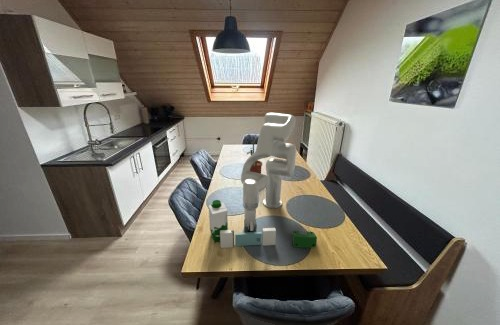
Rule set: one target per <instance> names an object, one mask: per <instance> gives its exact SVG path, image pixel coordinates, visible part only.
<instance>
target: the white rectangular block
mask: <svg viewBox="0 0 500 325" xmlns="http://www.w3.org/2000/svg"><path fill="white" fill-rule="evenodd" d="M261 232H262V240H261V245H262V247H263V246H275V245H276V234H277V230H276V227H267V228H266V227H265V228H264V227H263V228H262V231H261ZM219 242H220V244H219V245H220V248H221V249H222V248H223V249H225V248H233V247H235V230H234V229H228V230H221V231H220V241H219Z"/></svg>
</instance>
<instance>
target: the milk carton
mask: <svg viewBox="0 0 500 325" xmlns="http://www.w3.org/2000/svg"><path fill="white" fill-rule="evenodd" d="M208 218H209V219H208V220H209V230H210V235H211V238H212V240H213V243H214V244H215V243H218V242H220V231H221V230H229V227H228V225H229V224H228V208H227V207H226V205H225V203H224V202H223V201H222V202H221V201H220V199H219V200H218V199H215V200H213V201H212V203H211V204H209V205H208Z"/></svg>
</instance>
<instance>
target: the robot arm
mask: <svg viewBox="0 0 500 325" xmlns="http://www.w3.org/2000/svg"><path fill="white" fill-rule="evenodd" d="M263 121H264V124H262V125H261V127H260V131H259V135H258V140H257V144H256V147H255V150H254V154H252V155H251V154H250V156H249V157H248V158H247V159H246V160H245V162H244V164H243V167H242V170H241V175H240V182H241V184H242V207H243V208H244V216H243V217H244V219H245V226H246V227H248V231H247V233H248V232H254V226H255V221H256V222H257V217H256V216H257V208H258V207H259V193H260V192H261V191H263V190H265V198H264V199H263V201H262V204H263V206H265V207H266V208H268V209H278V208H280V207H282V205H283V201H282V200H281V194H282V193H281V191H282V183H283V182H282V177H287V178H290V177H292V176H293V175H294V173H295V167H296V158H297V147H296V145H295V144H294V143H290V142H287V140H288V139H289V137H290V136H291V134H292V133H293V130H294V128H295V126H296V122H297V120H296V117H295V116H294V115H293V114H287V113H281V112H280V113H279V112H267V113H265V114H264V117H263ZM270 157H271V158H270ZM272 157H274V158H272ZM267 158H268V159H267ZM262 159H267V160H266V162H265V170H266V174H263V173H261V174H259V173H255V172H250V168H251V166H252V164H253V163H254V162H256V161H257V160H258V161H260V160H262ZM249 224H250V225H249ZM249 227H250V228H249Z"/></svg>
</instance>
